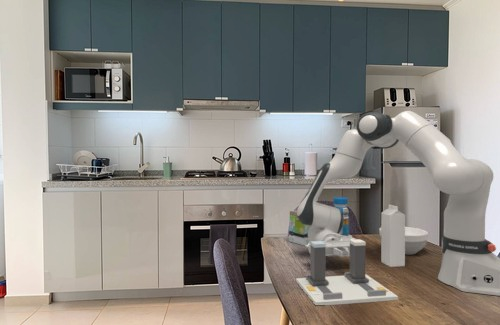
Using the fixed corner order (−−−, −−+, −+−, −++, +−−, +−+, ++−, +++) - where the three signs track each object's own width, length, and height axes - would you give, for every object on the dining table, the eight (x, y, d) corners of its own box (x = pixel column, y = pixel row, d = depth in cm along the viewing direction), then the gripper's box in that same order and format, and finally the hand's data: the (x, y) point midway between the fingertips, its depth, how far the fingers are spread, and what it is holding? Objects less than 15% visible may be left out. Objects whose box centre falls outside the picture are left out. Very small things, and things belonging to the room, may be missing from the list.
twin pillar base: (365, 277, 111) (365, 270, 111) (398, 299, 93) (398, 291, 93) (296, 281, 107) (296, 274, 107) (315, 306, 89) (315, 297, 89)
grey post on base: (361, 276, 108) (361, 238, 108) (368, 282, 103) (369, 242, 103) (346, 277, 107) (346, 239, 107) (353, 283, 102) (353, 243, 102)
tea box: (304, 246, 150) (304, 213, 150) (288, 241, 158) (288, 210, 158) (325, 240, 160) (325, 210, 160) (309, 237, 168) (309, 207, 167)
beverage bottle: (331, 239, 162) (331, 198, 161) (331, 235, 170) (331, 196, 169) (350, 240, 160) (350, 199, 159) (348, 236, 168) (348, 196, 168)
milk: (395, 261, 128) (395, 203, 128) (405, 266, 122) (405, 206, 122) (380, 262, 127) (381, 204, 127) (389, 267, 121) (390, 206, 121)
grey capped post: (322, 278, 106) (322, 240, 106) (328, 284, 101) (328, 244, 101) (307, 279, 105) (307, 241, 105) (312, 285, 100) (312, 245, 100)
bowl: (421, 246, 149) (421, 227, 149) (433, 259, 131) (433, 236, 130) (376, 244, 153) (376, 225, 153) (382, 255, 135) (382, 234, 135)
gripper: (303, 236, 125) (316, 246, 111) (354, 234, 128) (373, 244, 115) (303, 253, 125) (316, 265, 112) (354, 251, 128) (373, 262, 115)
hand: (345, 254), depth 113 cm, fingers closed
